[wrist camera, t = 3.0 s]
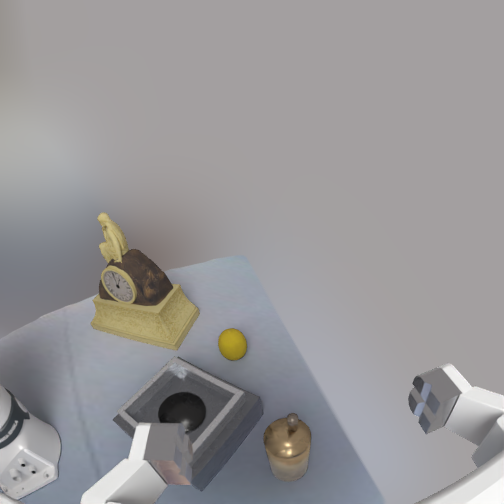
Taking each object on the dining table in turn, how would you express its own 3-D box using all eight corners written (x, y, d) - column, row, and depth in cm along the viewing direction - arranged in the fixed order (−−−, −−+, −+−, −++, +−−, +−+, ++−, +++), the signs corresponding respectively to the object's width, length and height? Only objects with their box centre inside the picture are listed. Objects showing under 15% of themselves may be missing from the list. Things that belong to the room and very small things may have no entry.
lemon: (226, 370, 54) (217, 344, 50) (220, 351, 59) (212, 325, 55) (252, 363, 55) (247, 336, 52) (245, 344, 60) (239, 317, 56)
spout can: (296, 486, 32) (297, 456, 24) (264, 472, 35) (251, 436, 27) (313, 458, 36) (320, 416, 28) (282, 446, 39) (276, 399, 31)
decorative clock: (93, 328, 69) (47, 230, 55) (118, 300, 80) (82, 207, 65) (177, 350, 61) (130, 228, 46) (199, 313, 71) (168, 199, 57)
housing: (201, 491, 32) (184, 478, 28) (127, 434, 41) (105, 412, 37) (263, 413, 45) (257, 388, 41) (186, 375, 54) (174, 348, 50)
